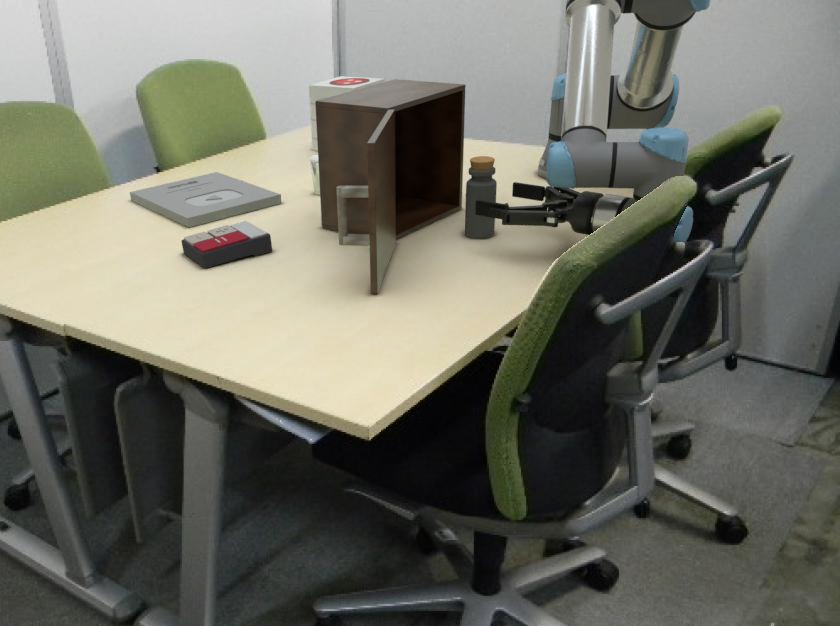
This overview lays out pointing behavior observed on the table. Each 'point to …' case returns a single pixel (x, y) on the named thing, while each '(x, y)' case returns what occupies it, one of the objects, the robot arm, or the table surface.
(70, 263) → the table surface
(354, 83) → the pizza boxes
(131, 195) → the award plaque
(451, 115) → the cupboard
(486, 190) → the bottle
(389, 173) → the cupboard door
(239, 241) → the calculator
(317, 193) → the milkshake
